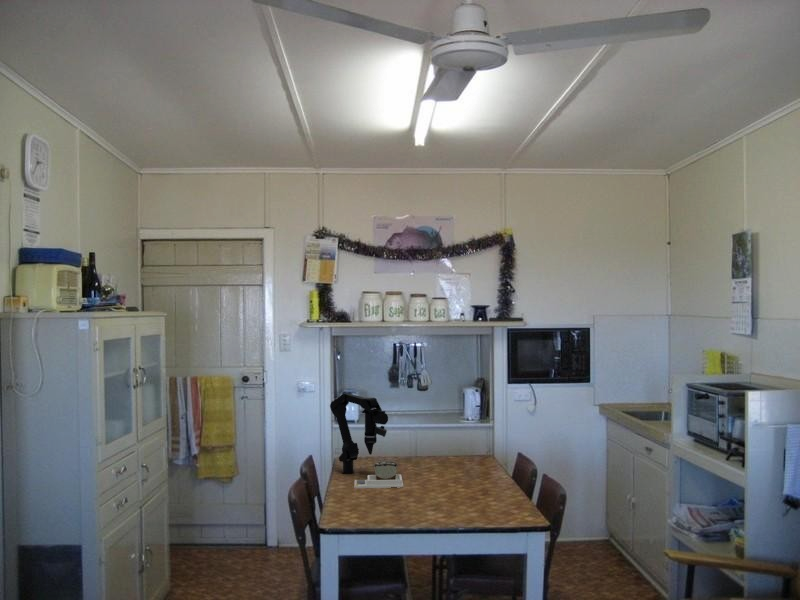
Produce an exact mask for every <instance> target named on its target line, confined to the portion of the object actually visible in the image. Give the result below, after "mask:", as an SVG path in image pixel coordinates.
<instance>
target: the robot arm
mask: <svg viewBox="0 0 800 600" xmlns="http://www.w3.org/2000/svg"><path fill="white" fill-rule="evenodd" d="M349 403H352V404H355V405H358V406H360V407H361V408H362V409H363V410H362V411H361V413H362V414H364V437H363V438H364V439H363V440H364V444H365V446H366V449H367V452H368V454H369V455H372V454H373V449H374V445H375V444H376V443H377V435H379V436H382V437H383V438H385V437H386V435H387V432H388V431H387V429H386V428H385V425H387V424H388V422H389V416H388V414H387V413H386V410H383V409H382V408H381V405H380V404H379V402H378V400H377V398H376V397H365V396H360V395H357V394H353V393H350V392H343V393H342V394H340V396H337V397H336V398H335V399H334V400H332V401H331V402H330V404H329V408H330V410H331V413H332V415H334V417H335V418H336V421H337V424H338V428H339V432H340V435H341V440H342V448H341V452H342V453H341V454H340V456H339V457H338V459H339V462H341V463H342V470H341V474H355V469H354V461H357V460H358V458H359V457H358V456H359V450H360V449H359V447H358V443H357V442H354V440H353V438H352V435H351V431H350V427H349V423H348V420H347V417H346V414H347V410H348V408H347V406H348V405H349ZM377 424H379V425H381V426H378V425H377Z"/></svg>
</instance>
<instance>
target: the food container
mask: <svg viewBox="0 0 800 600" xmlns="http://www.w3.org/2000/svg"><path fill="white" fill-rule="evenodd" d="M373 467H374V472H375V474H374V475H376V480H396V475H397V468H398V467H399V464H398V462H397V461H394V460H378V461H375V462H374V464H373Z"/></svg>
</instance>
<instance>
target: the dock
mask: <svg viewBox="0 0 800 600" xmlns="http://www.w3.org/2000/svg"><path fill="white" fill-rule="evenodd" d="M403 482H404V481H403V477H402V474H396V480H376V474H368V475H367V479H354V483H353V485H354V486H353V489H392V488H391V487H397V488H396V489H398V488H399V489H401V488H400V487H403V488H404V483H403Z"/></svg>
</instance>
